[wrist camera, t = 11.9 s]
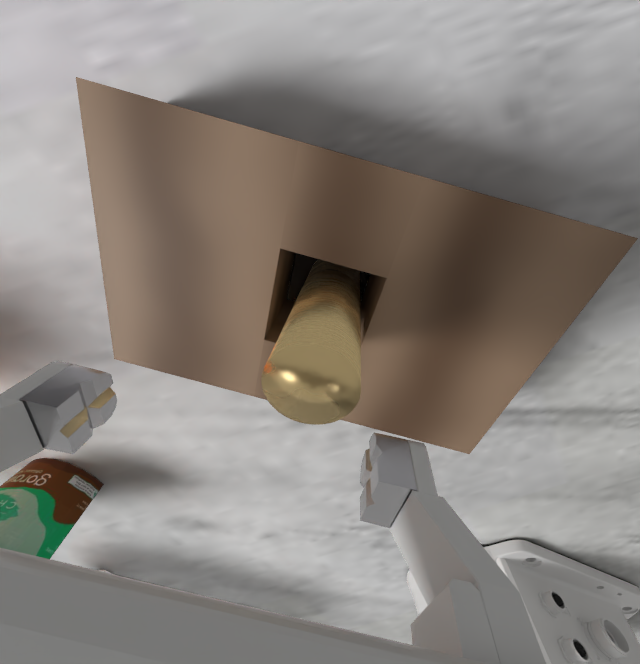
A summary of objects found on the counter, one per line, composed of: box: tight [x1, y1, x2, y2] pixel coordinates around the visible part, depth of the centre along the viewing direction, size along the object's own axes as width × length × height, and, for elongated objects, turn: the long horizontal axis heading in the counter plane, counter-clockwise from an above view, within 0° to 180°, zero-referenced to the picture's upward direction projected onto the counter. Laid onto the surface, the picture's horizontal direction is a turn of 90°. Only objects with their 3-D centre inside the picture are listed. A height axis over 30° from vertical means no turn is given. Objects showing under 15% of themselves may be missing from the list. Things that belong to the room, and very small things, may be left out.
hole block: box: [76, 77, 638, 454], centre depth 15 cm, size 20×12×5 cm, turn 76°
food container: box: [0, 458, 104, 559], centre depth 27 cm, size 12×6×10 cm, turn 108°
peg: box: [261, 259, 361, 424], centre depth 13 cm, size 3×3×10 cm
